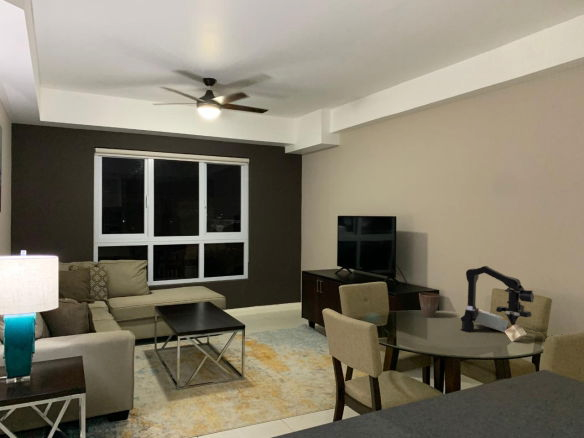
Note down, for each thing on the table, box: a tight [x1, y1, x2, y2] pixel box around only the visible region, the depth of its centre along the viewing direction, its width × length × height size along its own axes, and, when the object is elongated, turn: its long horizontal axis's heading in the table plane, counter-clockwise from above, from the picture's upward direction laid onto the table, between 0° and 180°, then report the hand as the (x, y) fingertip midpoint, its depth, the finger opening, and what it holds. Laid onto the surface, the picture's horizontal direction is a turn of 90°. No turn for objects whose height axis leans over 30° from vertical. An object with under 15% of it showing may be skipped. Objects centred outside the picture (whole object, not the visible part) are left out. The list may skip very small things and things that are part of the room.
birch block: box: [504, 323, 527, 342], centre depth 266 cm, size 7×7×7 cm
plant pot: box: [418, 292, 441, 319], centre depth 323 cm, size 15×15×16 cm
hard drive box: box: [473, 309, 510, 333], centre depth 293 cm, size 16×8×20 cm
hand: (513, 326), depth 267 cm, fingers closed
